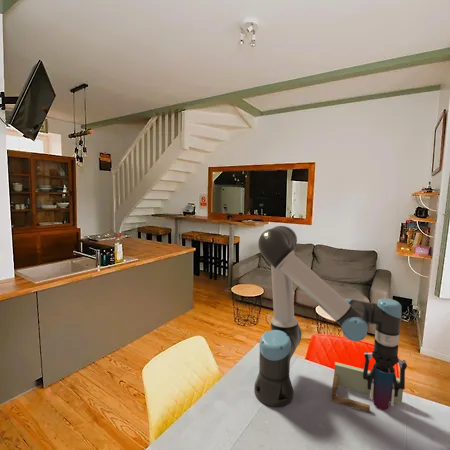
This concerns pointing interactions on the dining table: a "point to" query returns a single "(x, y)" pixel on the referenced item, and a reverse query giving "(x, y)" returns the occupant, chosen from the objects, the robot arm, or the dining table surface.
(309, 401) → the dining table surface
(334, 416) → the dining table surface
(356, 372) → the wall board
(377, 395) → the cup
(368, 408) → the bracket
